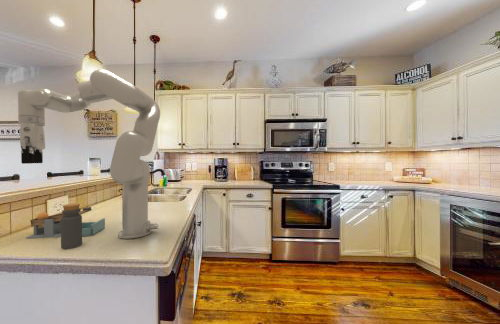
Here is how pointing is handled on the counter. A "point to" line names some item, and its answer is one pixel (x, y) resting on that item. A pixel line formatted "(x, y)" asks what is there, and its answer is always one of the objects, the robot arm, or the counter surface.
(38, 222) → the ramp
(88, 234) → the tray
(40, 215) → the ball
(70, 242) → the bottle
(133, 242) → the counter surface
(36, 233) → the stand
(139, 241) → the counter surface
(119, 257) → the counter surface
